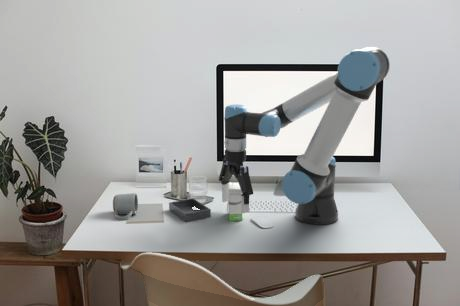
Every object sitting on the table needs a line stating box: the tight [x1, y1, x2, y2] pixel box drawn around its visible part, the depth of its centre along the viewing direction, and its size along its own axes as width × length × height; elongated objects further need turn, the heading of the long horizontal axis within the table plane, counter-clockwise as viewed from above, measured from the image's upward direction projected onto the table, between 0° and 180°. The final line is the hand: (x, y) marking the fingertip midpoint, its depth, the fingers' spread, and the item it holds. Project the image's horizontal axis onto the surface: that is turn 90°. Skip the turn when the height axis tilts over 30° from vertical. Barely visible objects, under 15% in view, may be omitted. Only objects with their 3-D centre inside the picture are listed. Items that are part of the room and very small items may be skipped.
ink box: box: [227, 181, 243, 221], centre depth 203 cm, size 9×5×12 cm, turn 0°
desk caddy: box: [168, 198, 212, 223], centre depth 207 cm, size 10×14×3 cm
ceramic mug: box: [112, 192, 139, 221], centre depth 205 cm, size 11×8×8 cm
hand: (235, 206), depth 203 cm, fingers open, 13 cm apart
